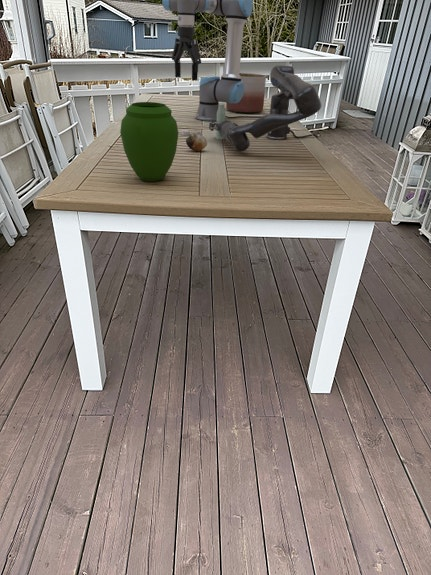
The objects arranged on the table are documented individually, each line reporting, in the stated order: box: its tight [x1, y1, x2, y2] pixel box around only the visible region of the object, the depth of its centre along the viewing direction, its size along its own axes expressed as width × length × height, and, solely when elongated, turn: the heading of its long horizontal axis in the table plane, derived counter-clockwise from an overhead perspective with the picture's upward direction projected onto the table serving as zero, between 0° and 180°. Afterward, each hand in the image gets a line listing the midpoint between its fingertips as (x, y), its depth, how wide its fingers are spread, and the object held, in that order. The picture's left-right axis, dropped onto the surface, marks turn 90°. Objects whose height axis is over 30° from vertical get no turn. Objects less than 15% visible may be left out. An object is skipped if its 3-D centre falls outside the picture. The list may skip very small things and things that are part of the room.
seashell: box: [185, 131, 208, 152], centre depth 181 cm, size 10×6×8 cm, turn 97°
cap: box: [180, 129, 190, 136], centre depth 210 cm, size 4×4×2 cm
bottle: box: [215, 103, 226, 140], centre depth 202 cm, size 4×4×16 cm
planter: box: [225, 72, 267, 114], centre depth 275 cm, size 25×25×22 cm
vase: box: [119, 101, 179, 182], centre depth 140 cm, size 20×20×24 cm
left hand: (186, 78), depth 197 cm, fingers open, 13 cm apart
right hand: (219, 123), depth 204 cm, fingers open, 6 cm apart
